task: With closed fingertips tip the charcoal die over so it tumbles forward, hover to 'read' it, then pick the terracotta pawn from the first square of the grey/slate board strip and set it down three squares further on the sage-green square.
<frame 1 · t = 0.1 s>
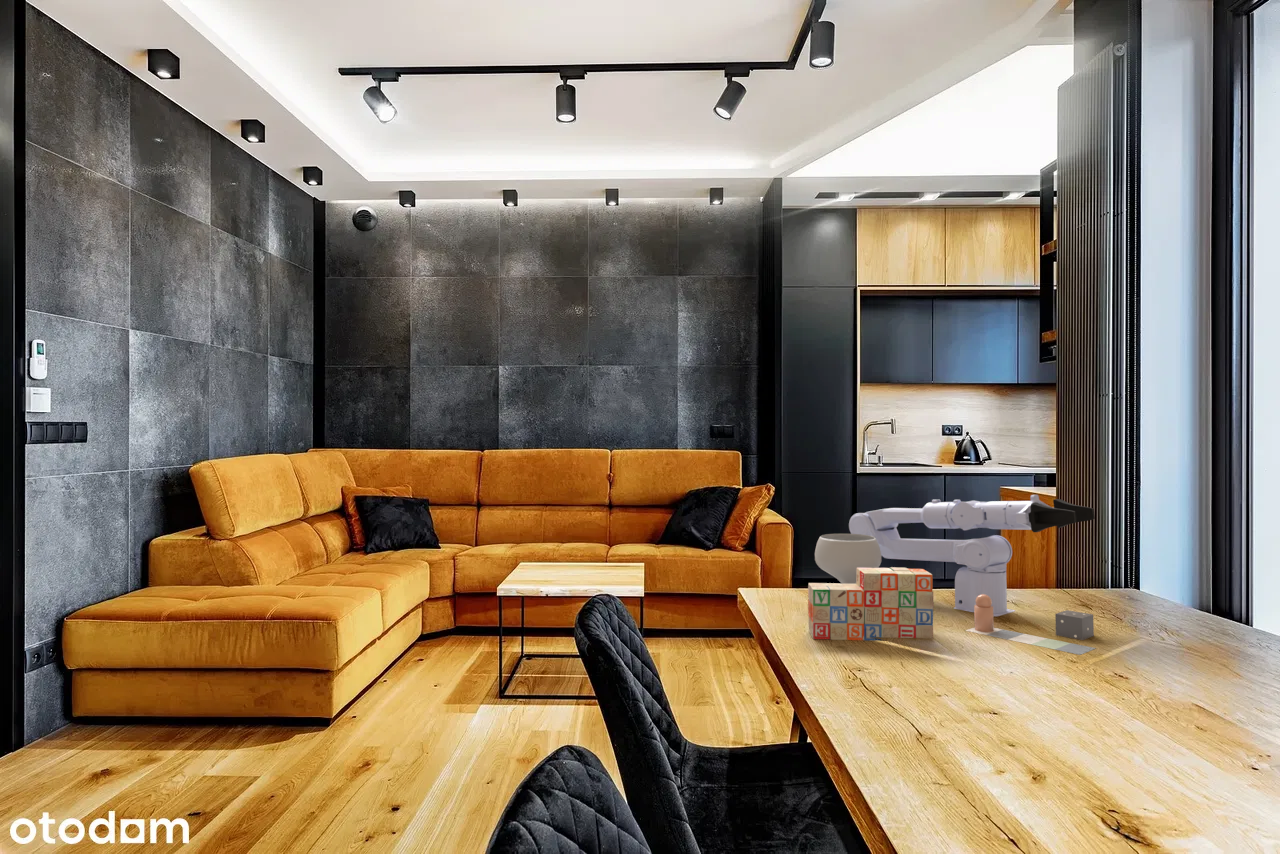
hand: (1084, 515, 141), 22 cm above the table, tool horizontal, fingers open, 7 cm apart
pawn: (984, 629, 140), point 1 cm above the table, touching board
die: (1074, 639, 136), on the table
board: (1027, 642, 133), on the table
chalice: (848, 607, 163), on the table
stack of blocks: (869, 638, 139), on the table
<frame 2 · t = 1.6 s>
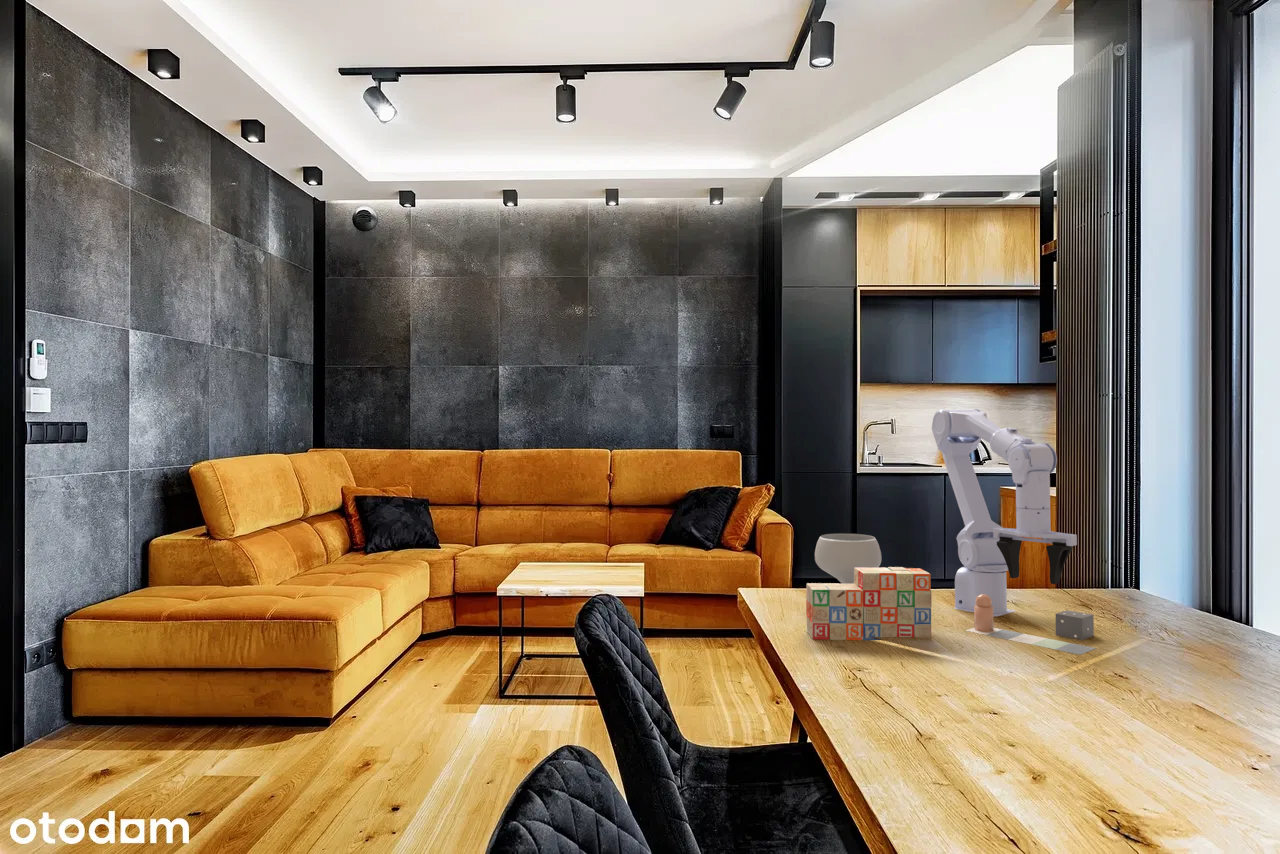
hand: (1034, 580, 141), 9 cm above the table, tool pointing down, fingers open, 7 cm apart
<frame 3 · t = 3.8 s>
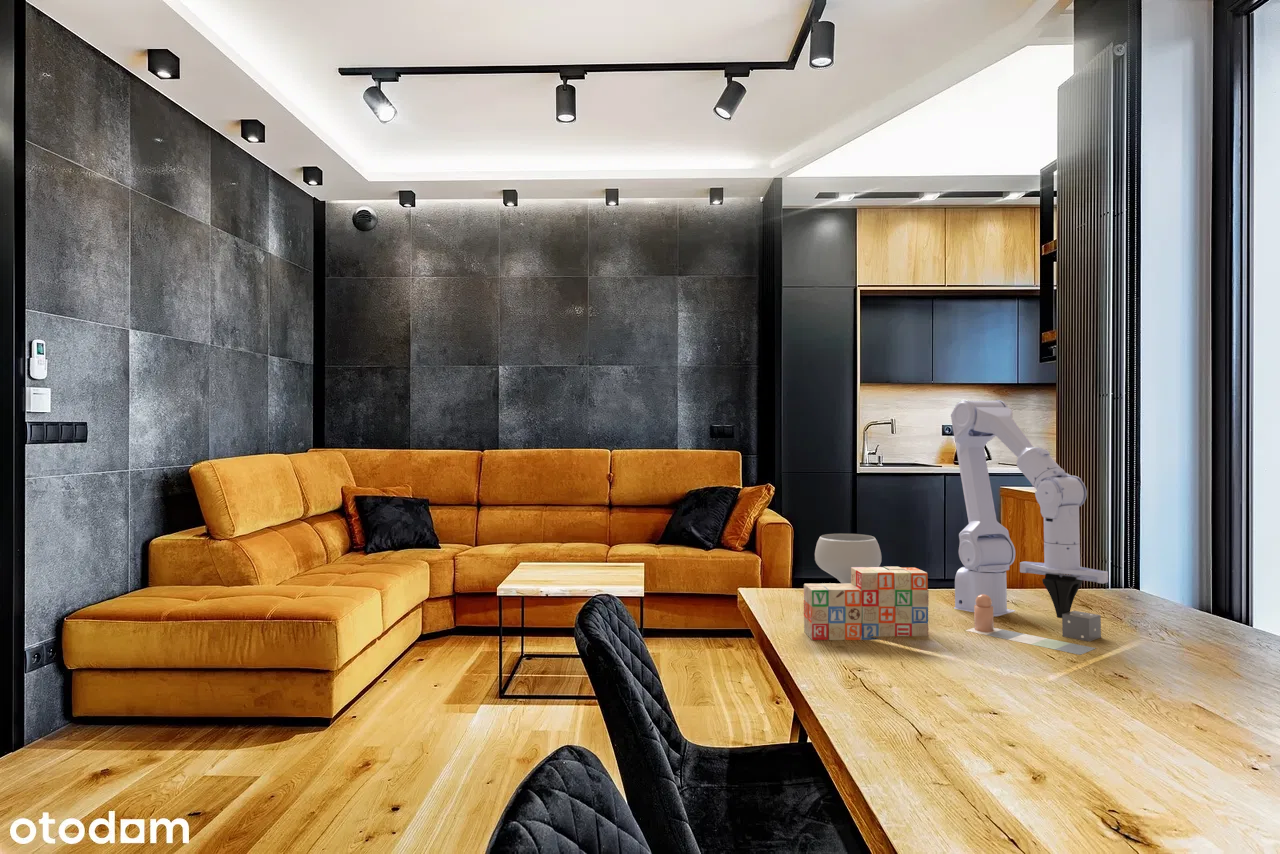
hand: (1063, 617, 137), 3 cm above the table, tool pointing down, fingers closed
die: (1081, 639, 135), on the table, touching gripper
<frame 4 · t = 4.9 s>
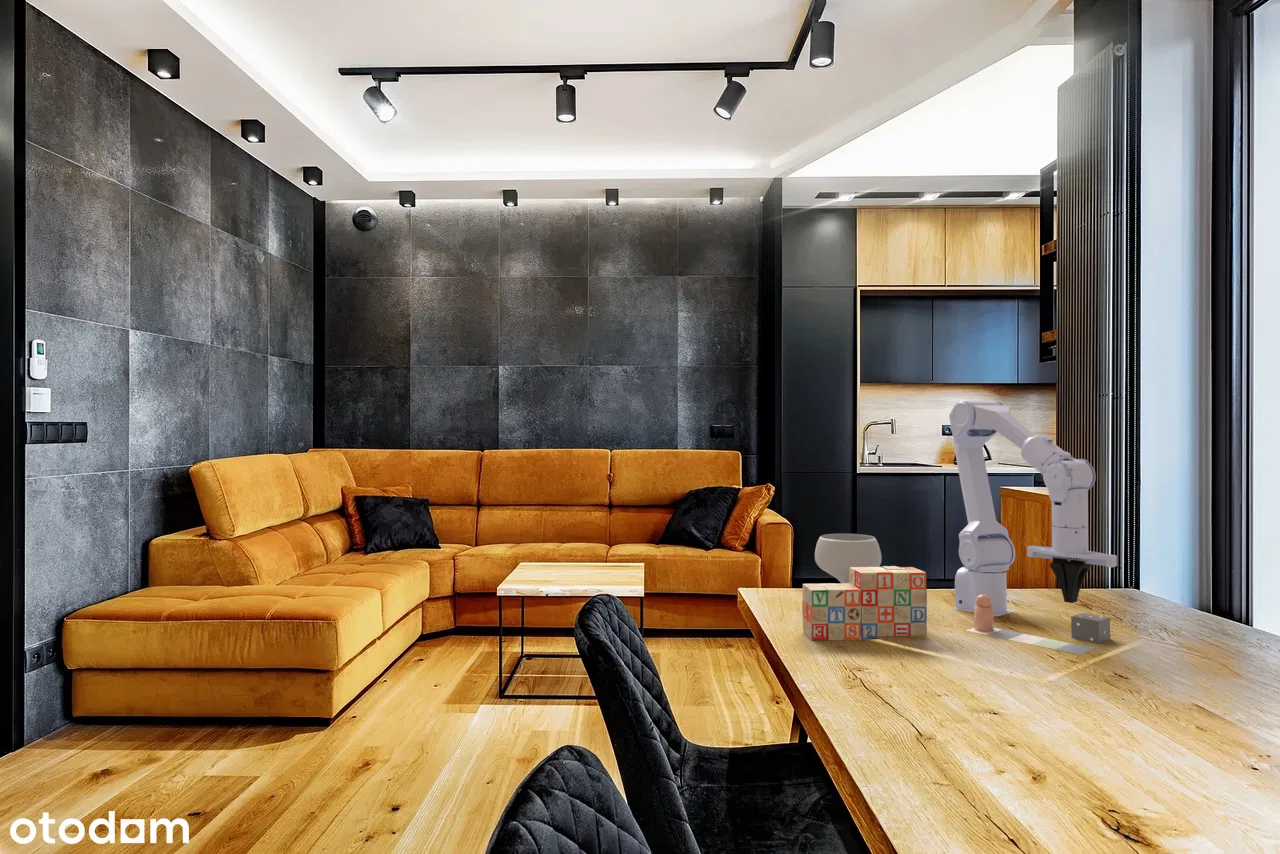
hand: (1070, 601, 136), 7 cm above the table, tool pointing down, fingers closed
die: (1091, 642, 133), on the table
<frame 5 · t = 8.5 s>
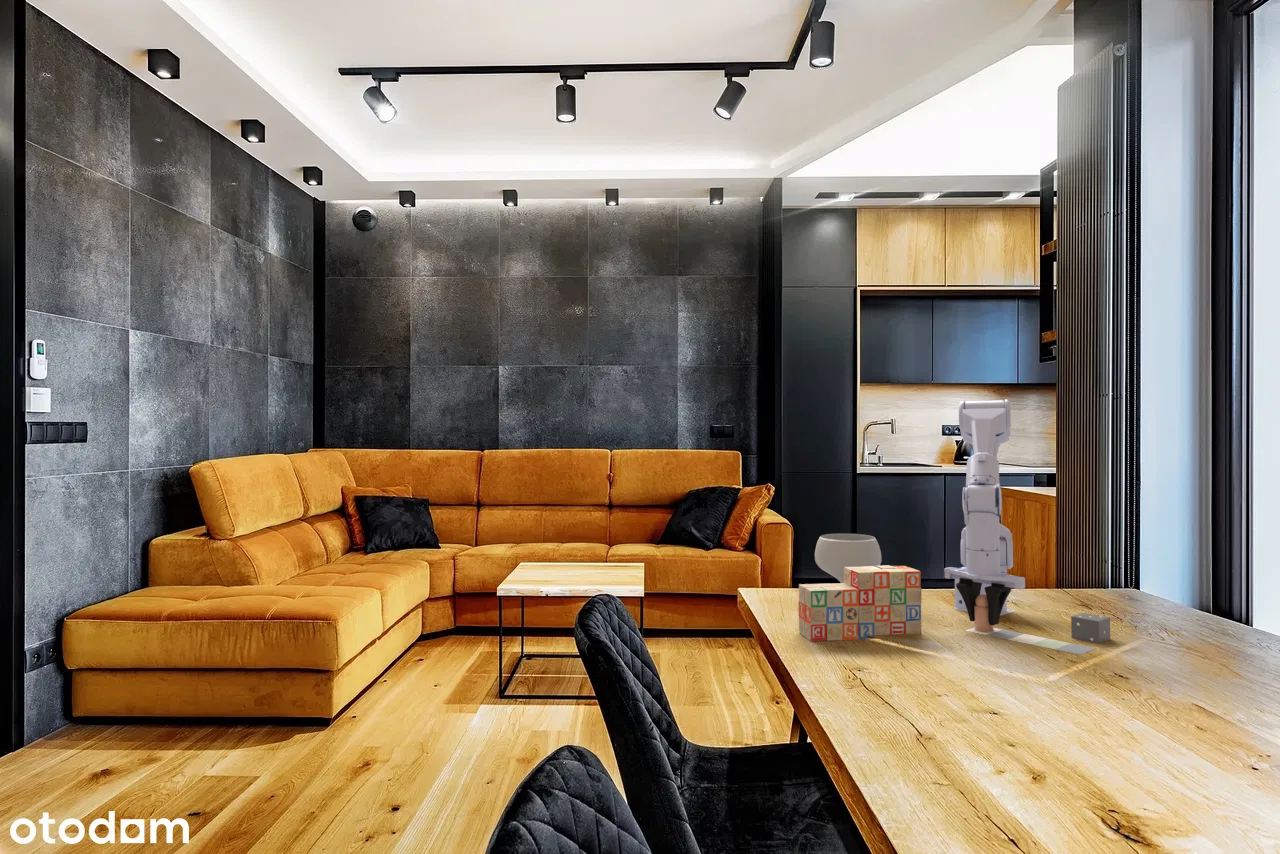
hand: (983, 622, 140), 2 cm above the table, tool pointing down, fingers closed on pawn, 3 cm apart
pawn: (984, 629, 140), point 1 cm above the table, touching board, gripper
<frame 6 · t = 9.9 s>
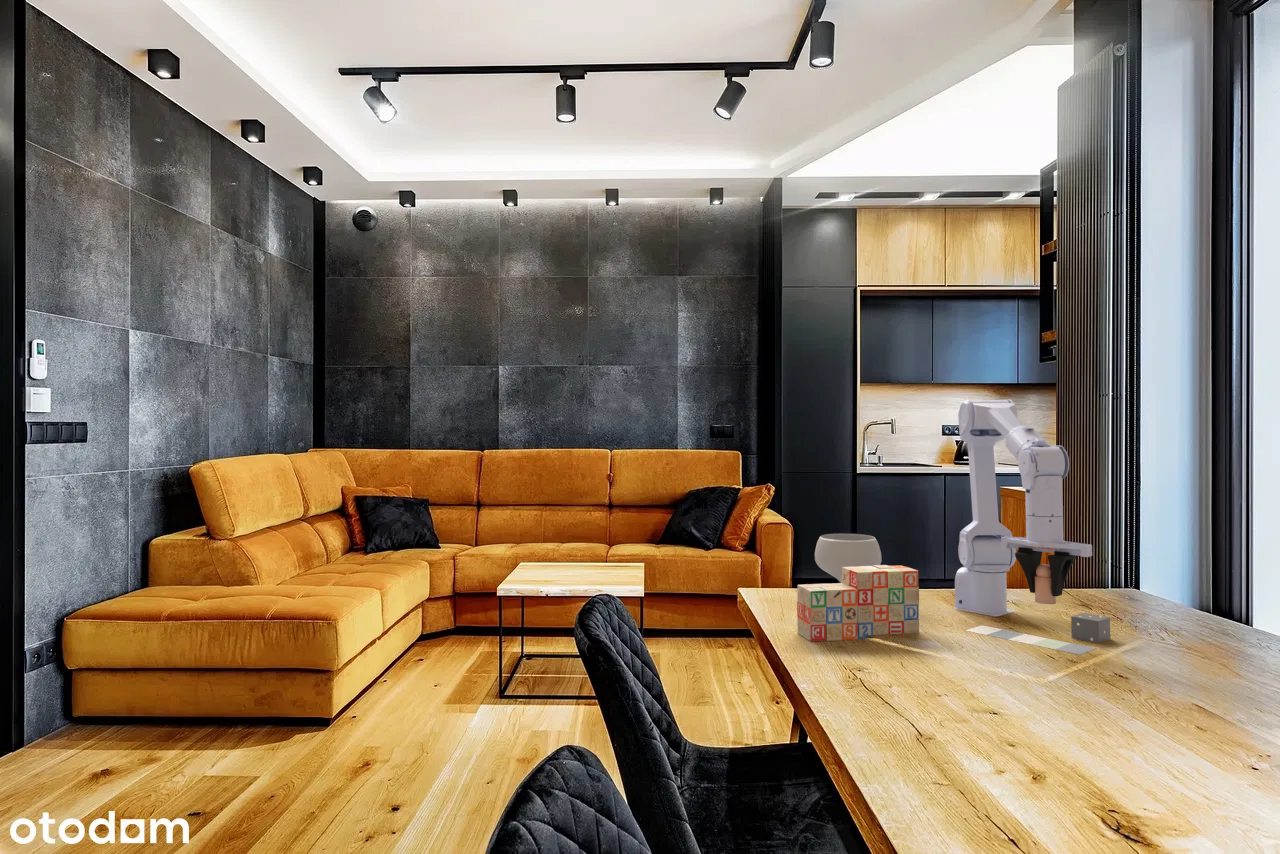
hand: (1045, 593, 131), 9 cm above the table, tool pointing down, fingers closed on pawn, 3 cm apart
pawn: (1045, 602, 131), point 8 cm above the table, touching gripper
when the fingers open (3 cm above the table, at t = 11.5 s): pawn stays where it is, resting on board.
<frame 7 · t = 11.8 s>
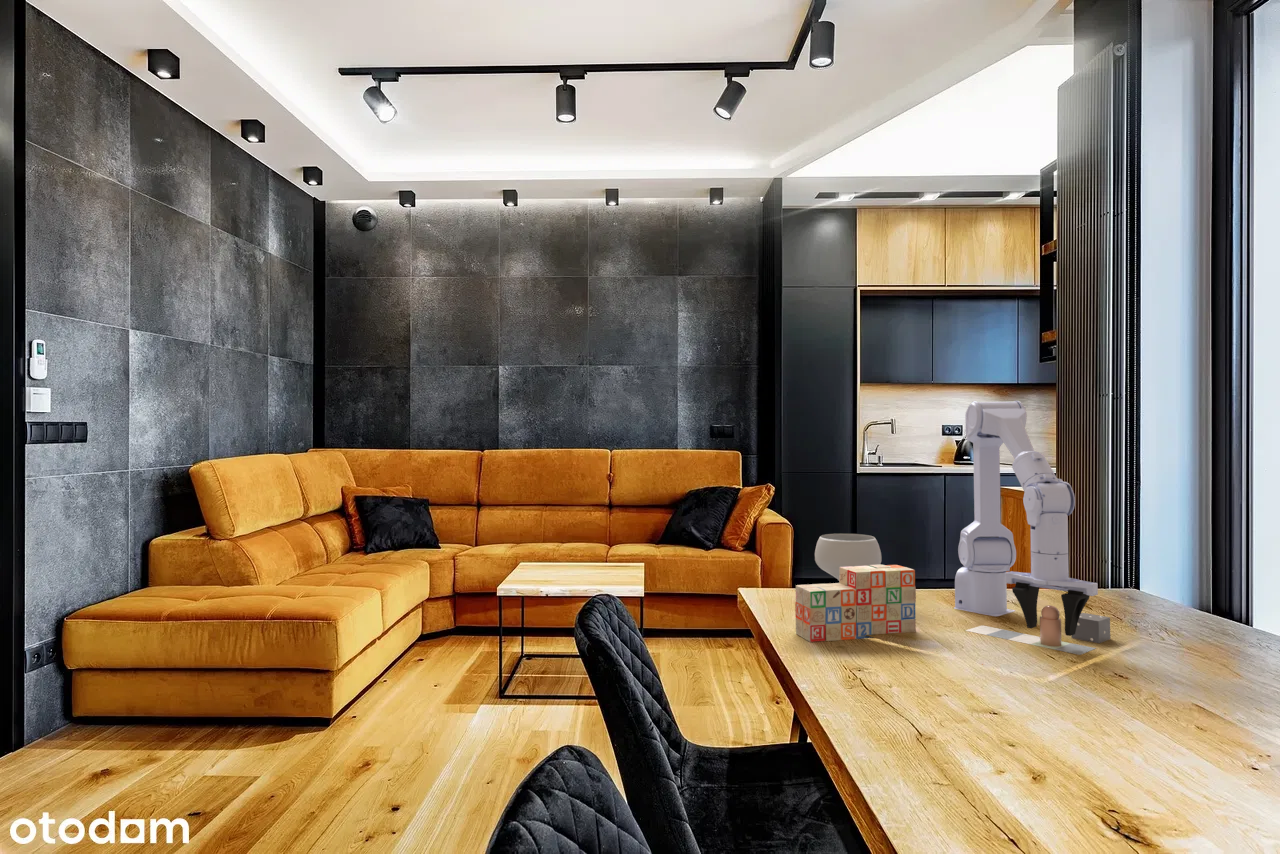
hand: (1050, 630, 130), 3 cm above the table, tool pointing down, fingers open, 6 cm apart
pawn: (1050, 643, 130), point 1 cm above the table, touching board
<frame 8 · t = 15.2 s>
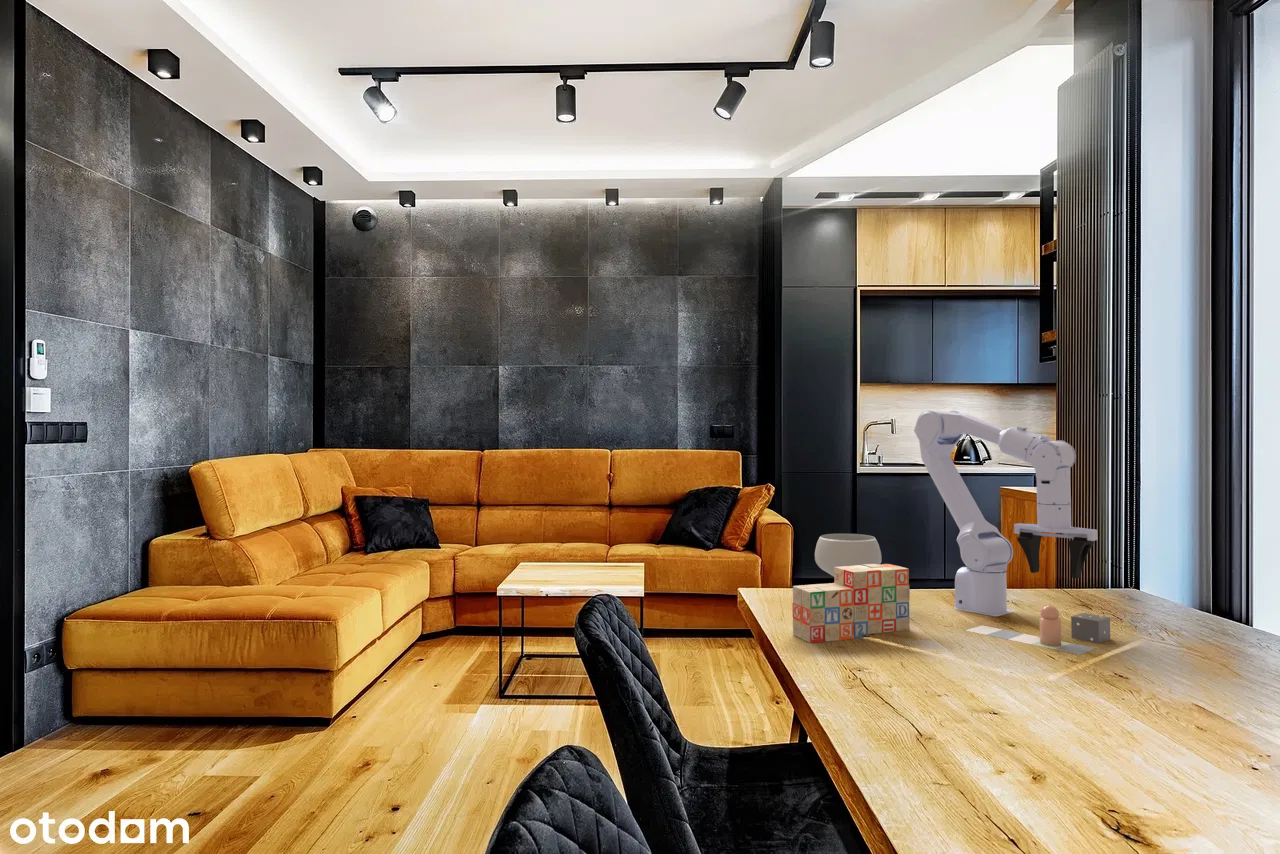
hand: (1055, 574, 144), 10 cm above the table, tool pointing down, fingers open, 7 cm apart
at the end: die moved 2.7 cm from its start; pawn 0.1 cm from the target spot on the board, point 0.6 cm above the board's base; pawn tilted 1° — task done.
